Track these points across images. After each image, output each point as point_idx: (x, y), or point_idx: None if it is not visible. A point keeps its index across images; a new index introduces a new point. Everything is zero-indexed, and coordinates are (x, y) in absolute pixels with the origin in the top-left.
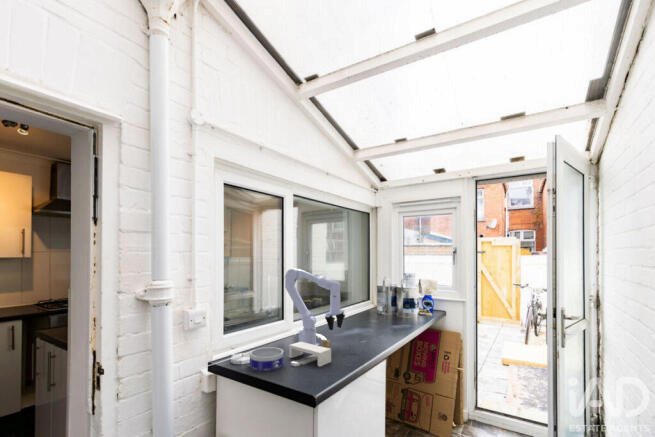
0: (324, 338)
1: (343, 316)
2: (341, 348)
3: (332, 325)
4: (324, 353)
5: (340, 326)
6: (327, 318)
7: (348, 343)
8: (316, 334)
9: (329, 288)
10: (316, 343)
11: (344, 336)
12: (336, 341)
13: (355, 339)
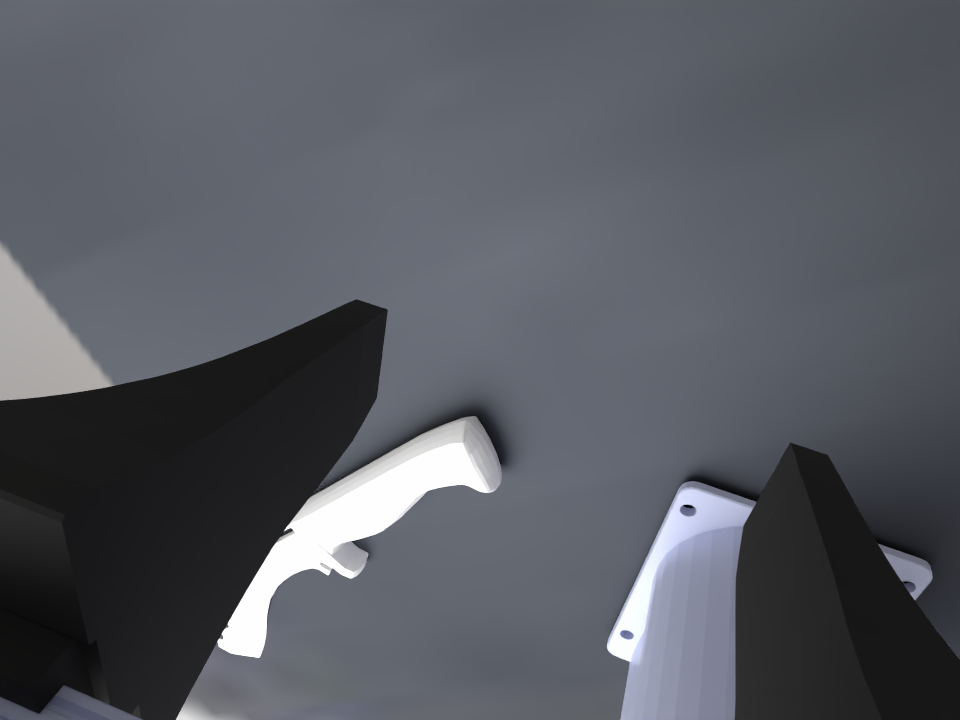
0: (418, 484)
1: (79, 452)
2: (760, 26)
3: (889, 563)
4: None
5: (370, 327)
6: None
7: (344, 35)
8: (243, 601)
9: None
10: (674, 529)
11: (54, 262)
12: (355, 290)
13: (49, 14)
